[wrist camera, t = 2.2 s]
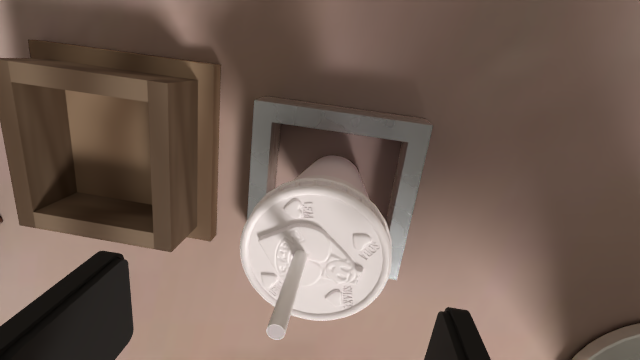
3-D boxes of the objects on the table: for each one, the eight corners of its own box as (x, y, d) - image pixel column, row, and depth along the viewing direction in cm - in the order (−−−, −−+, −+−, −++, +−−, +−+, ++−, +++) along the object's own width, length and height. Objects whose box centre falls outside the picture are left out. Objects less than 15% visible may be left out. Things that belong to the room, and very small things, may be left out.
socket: (220, 64, 22) (186, 65, 17) (216, 234, 26) (187, 268, 21) (41, 40, 22) (-33, 35, 18) (64, 208, 26) (7, 236, 22)
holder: (425, 118, 21) (432, 125, 19) (393, 259, 24) (396, 279, 22) (265, 95, 22) (254, 100, 20) (256, 235, 25) (245, 253, 23)
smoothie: (303, 120, 22) (215, 205, 9) (397, 155, 22) (447, 292, 9) (274, 206, 24) (170, 376, 11) (360, 238, 24) (357, 445, 11)
